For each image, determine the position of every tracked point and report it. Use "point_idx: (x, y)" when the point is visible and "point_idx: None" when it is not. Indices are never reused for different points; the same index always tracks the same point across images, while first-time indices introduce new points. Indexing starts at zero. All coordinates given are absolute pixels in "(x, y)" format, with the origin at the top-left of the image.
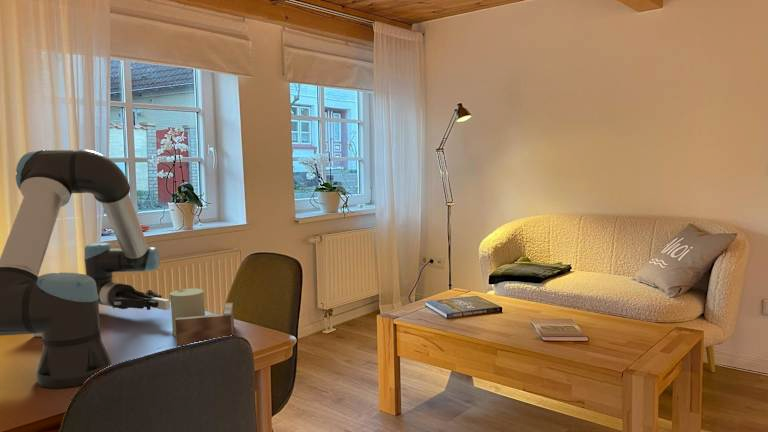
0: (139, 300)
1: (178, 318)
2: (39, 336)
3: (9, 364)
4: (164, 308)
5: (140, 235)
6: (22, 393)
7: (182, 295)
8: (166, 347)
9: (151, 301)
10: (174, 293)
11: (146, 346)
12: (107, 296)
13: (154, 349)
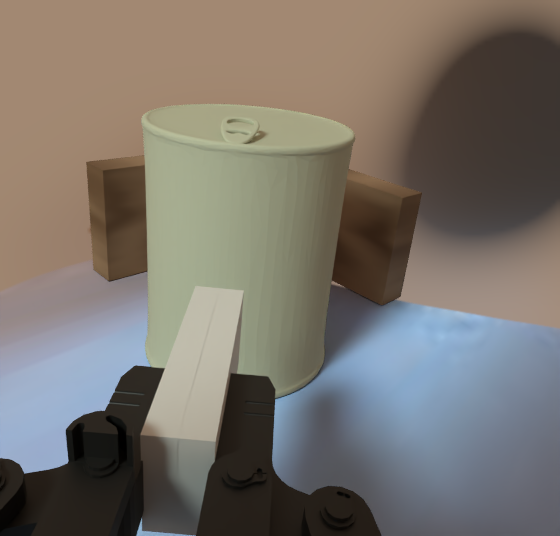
0: (368, 515)
1: (402, 192)
2: None
3: None
4: (238, 361)
5: None
6: None
7: (321, 122)
8: (438, 311)
9: (254, 427)
10: (311, 139)
11: (501, 366)
12: None
13: (486, 327)
